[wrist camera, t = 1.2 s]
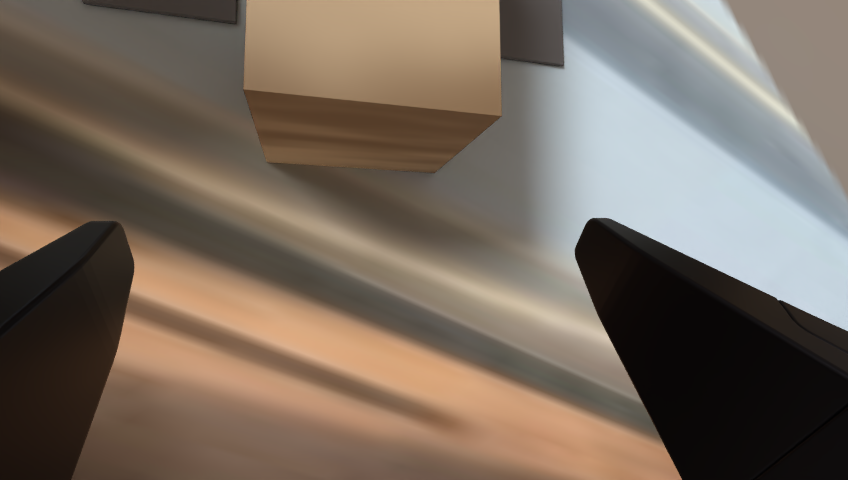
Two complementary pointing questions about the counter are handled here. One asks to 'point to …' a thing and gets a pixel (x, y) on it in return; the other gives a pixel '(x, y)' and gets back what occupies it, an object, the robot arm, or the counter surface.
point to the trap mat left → (178, 8)
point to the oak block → (371, 80)
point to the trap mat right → (531, 31)
